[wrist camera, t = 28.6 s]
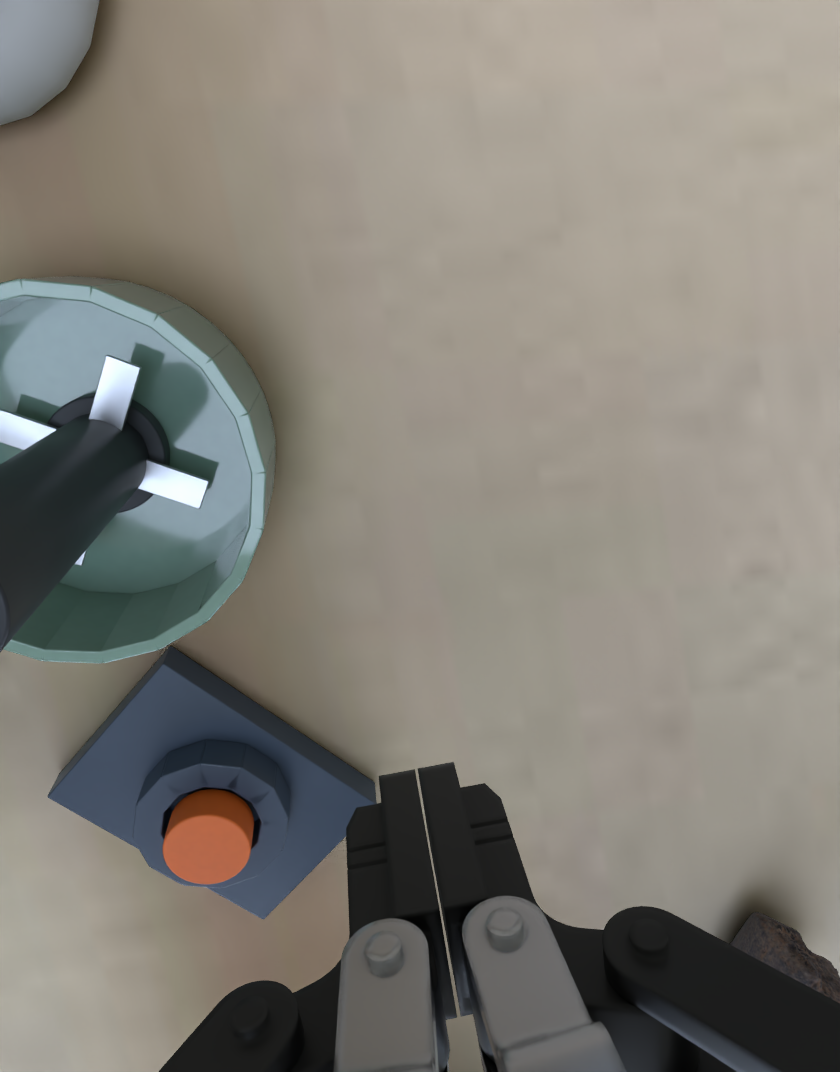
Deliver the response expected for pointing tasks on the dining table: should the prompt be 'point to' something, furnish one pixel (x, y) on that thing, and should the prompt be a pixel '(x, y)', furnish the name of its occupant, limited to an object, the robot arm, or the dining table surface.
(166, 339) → the processor bowl
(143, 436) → the food processor blade
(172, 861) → the button
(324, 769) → the control block
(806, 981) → the perforated stone tool
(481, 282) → the dining table surface
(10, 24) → the donut
